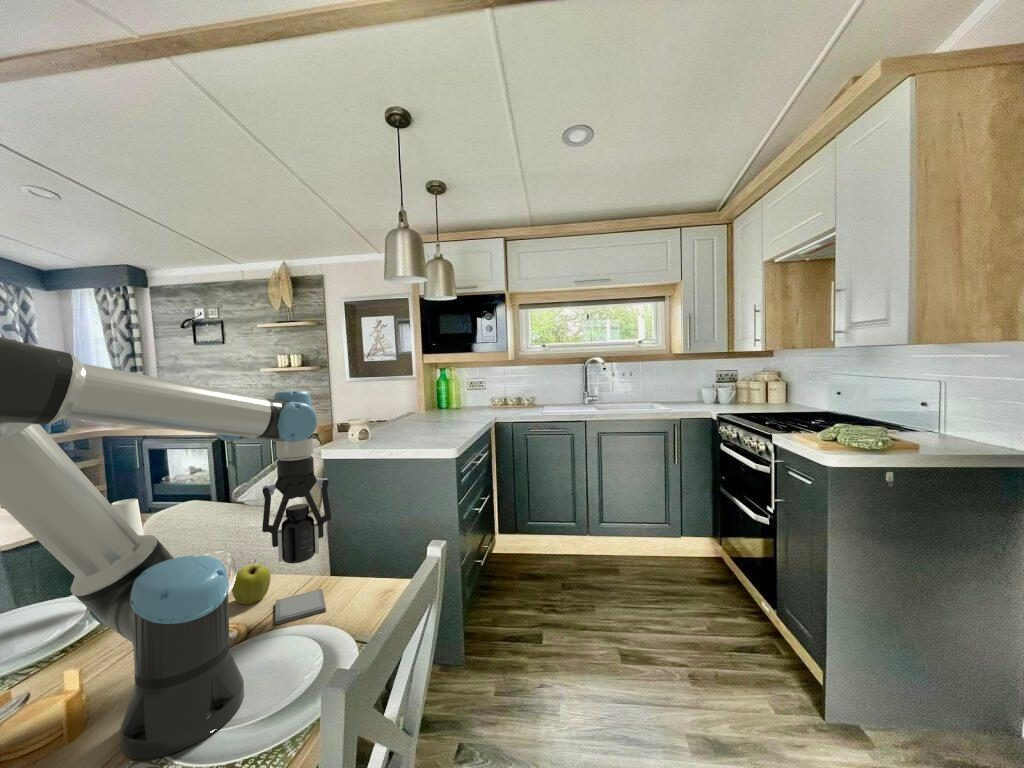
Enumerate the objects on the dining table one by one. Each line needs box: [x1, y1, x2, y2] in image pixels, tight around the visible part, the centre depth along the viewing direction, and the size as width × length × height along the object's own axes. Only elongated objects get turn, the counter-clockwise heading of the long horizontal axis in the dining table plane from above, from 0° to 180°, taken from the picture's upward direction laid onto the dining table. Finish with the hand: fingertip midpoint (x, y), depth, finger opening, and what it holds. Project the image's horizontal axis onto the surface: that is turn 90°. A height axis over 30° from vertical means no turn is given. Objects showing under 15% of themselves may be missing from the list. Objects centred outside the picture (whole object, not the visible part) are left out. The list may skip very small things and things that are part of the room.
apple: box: [231, 558, 271, 606], centre depth 99 cm, size 8×8×10 cm
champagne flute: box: [111, 498, 145, 535], centre depth 102 cm, size 7×7×24 cm
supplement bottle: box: [280, 503, 316, 564], centre depth 96 cm, size 7×7×12 cm
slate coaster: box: [274, 588, 327, 626], centre depth 96 cm, size 10×10×1 cm
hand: (299, 555), depth 96 cm, fingers closed on supplement bottle, 7 cm apart
